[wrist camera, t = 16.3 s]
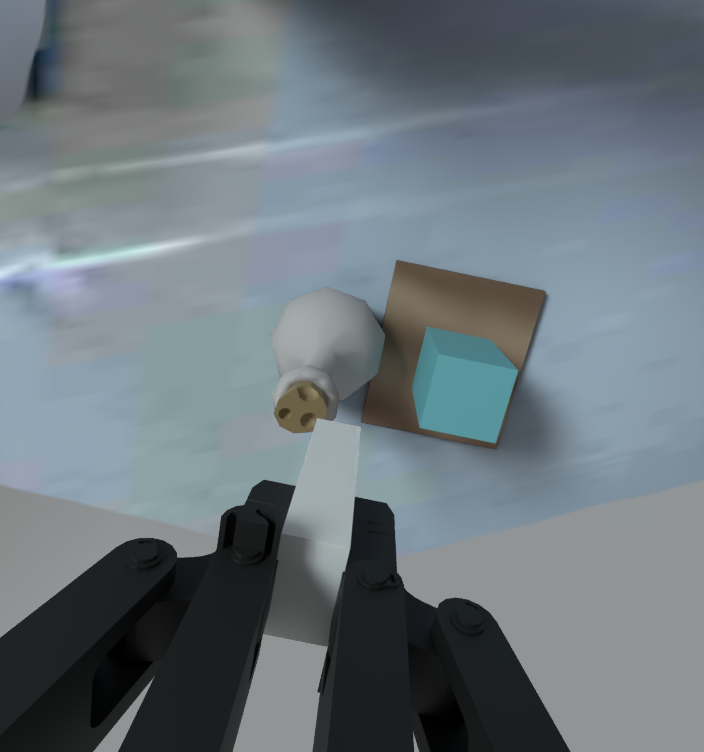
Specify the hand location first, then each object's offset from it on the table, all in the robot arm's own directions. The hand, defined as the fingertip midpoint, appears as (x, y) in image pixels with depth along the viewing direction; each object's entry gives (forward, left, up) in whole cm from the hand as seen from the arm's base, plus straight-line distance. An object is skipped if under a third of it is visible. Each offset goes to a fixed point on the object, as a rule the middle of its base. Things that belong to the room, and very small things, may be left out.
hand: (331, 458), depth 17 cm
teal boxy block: (+2, +8, -25) cm, 26 cm away
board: (+2, +8, -26) cm, 28 cm away
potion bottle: (+2, -2, -27) cm, 27 cm away
